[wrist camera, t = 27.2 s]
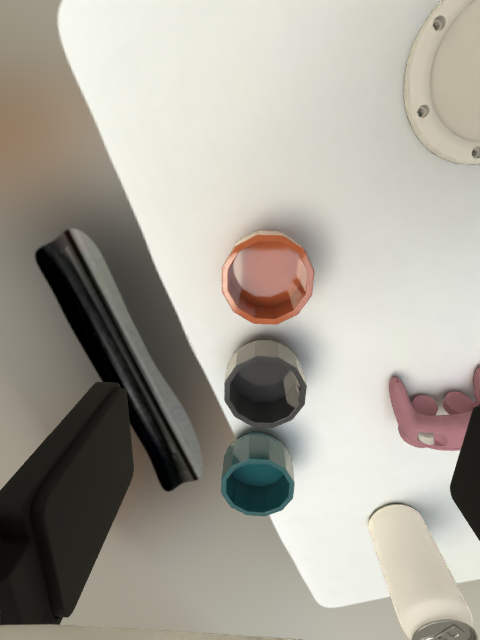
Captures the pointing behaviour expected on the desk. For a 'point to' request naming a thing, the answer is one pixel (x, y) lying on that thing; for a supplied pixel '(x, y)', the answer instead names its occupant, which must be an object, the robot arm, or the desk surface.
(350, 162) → the desk surface
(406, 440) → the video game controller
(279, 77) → the desk surface
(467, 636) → the can
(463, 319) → the desk surface
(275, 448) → the top bowl
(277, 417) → the bottom bowl
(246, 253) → the middle bowl
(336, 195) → the desk surface
